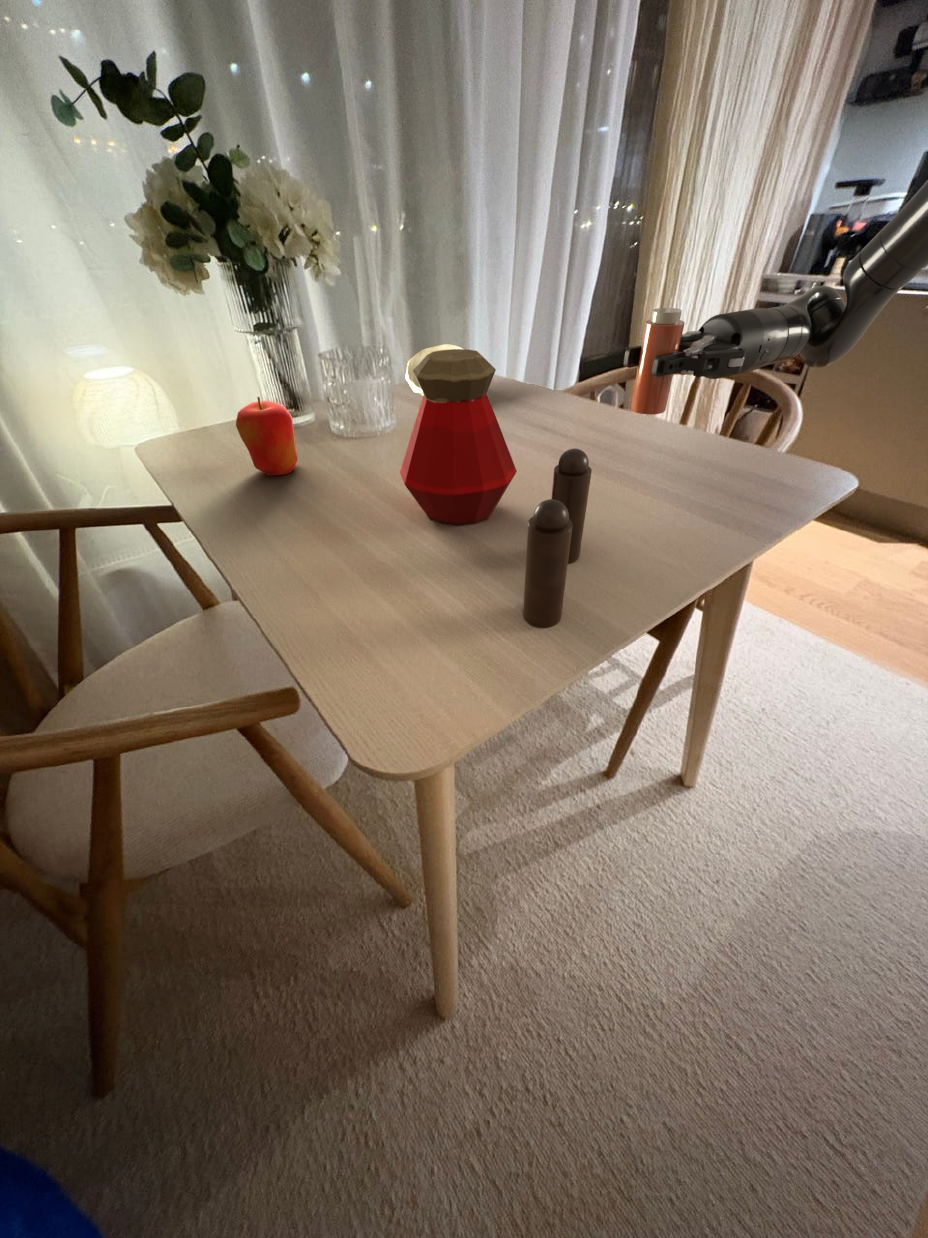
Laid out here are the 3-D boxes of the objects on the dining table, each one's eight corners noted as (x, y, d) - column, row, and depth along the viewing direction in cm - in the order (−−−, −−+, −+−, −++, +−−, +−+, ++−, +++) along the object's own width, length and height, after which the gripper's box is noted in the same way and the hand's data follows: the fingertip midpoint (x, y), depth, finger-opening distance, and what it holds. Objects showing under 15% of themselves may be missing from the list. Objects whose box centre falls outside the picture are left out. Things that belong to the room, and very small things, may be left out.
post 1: (564, 607, 53) (578, 493, 44) (557, 631, 50) (571, 515, 41) (527, 600, 54) (535, 488, 45) (518, 623, 51) (524, 508, 42)
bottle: (396, 535, 65) (373, 371, 52) (411, 489, 75) (395, 343, 62) (515, 536, 64) (522, 369, 51) (514, 489, 74) (520, 340, 61)
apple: (245, 469, 83) (220, 396, 76) (293, 456, 87) (273, 385, 79) (263, 486, 78) (238, 409, 70) (312, 471, 82) (294, 397, 74)
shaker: (666, 404, 66) (687, 306, 58) (664, 415, 63) (687, 313, 55) (632, 402, 67) (649, 306, 60) (628, 413, 64) (646, 313, 57)
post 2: (581, 548, 61) (597, 444, 53) (576, 566, 58) (591, 458, 50) (550, 544, 62) (559, 440, 54) (543, 561, 60) (552, 454, 51)
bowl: (398, 410, 104) (392, 358, 97) (421, 391, 114) (417, 342, 107) (466, 415, 100) (464, 361, 94) (483, 394, 110) (483, 344, 104)
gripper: (705, 303, 68) (606, 318, 62) (800, 318, 58) (693, 337, 53) (690, 362, 73) (598, 381, 67) (776, 385, 63) (676, 410, 58)
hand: (641, 362), depth 60 cm, fingers closed on shaker, 4 cm apart
